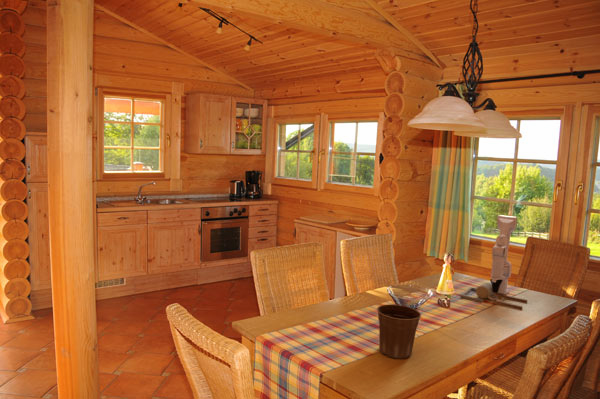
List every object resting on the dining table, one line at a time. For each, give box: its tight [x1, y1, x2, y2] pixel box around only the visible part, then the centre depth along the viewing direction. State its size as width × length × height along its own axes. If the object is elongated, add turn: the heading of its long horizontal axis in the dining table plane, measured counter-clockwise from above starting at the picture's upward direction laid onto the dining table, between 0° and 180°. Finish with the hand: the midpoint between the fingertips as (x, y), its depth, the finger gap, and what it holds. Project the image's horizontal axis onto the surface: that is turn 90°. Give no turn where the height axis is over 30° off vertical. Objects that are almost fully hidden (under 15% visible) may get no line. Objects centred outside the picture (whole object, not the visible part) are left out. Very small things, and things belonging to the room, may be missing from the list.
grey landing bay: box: [460, 286, 484, 303], centre depth 247 cm, size 20×12×2 cm, turn 144°
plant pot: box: [376, 303, 422, 360], centre depth 170 cm, size 16×16×16 cm
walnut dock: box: [492, 293, 528, 310], centre depth 237 cm, size 15×14×2 cm
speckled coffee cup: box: [475, 282, 499, 302], centre depth 243 cm, size 11×8×8 cm
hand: (495, 292), depth 241 cm, fingers closed
